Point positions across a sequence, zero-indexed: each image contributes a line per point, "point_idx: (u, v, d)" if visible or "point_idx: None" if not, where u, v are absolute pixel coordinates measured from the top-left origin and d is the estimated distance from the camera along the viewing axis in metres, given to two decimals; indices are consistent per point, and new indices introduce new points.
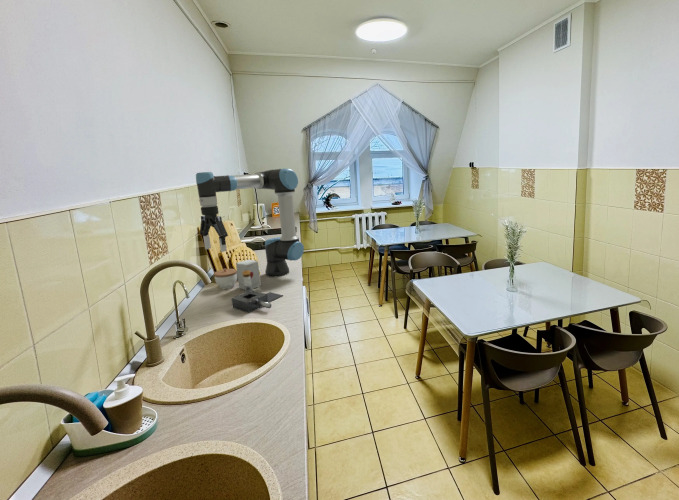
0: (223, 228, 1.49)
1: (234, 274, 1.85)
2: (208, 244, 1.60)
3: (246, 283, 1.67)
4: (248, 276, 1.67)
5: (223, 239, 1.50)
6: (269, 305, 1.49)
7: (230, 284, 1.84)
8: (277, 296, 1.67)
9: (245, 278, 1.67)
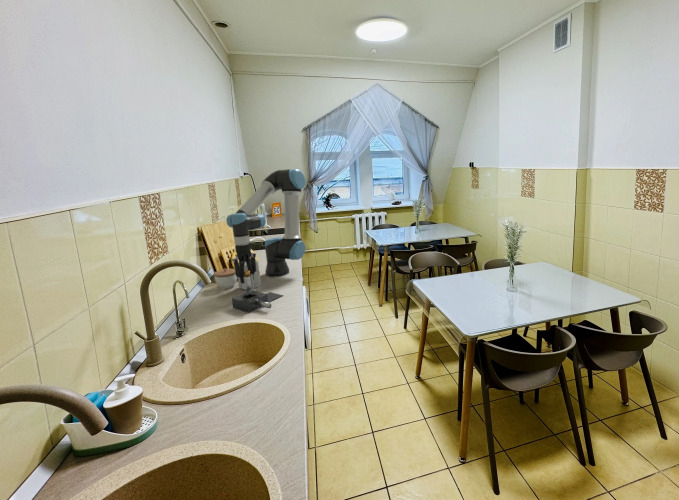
0: (236, 270, 1.63)
1: (234, 274, 1.85)
2: None
3: (246, 283, 1.67)
4: (248, 276, 1.67)
5: (240, 278, 1.66)
6: (269, 305, 1.49)
7: (230, 284, 1.84)
8: (277, 296, 1.67)
9: None
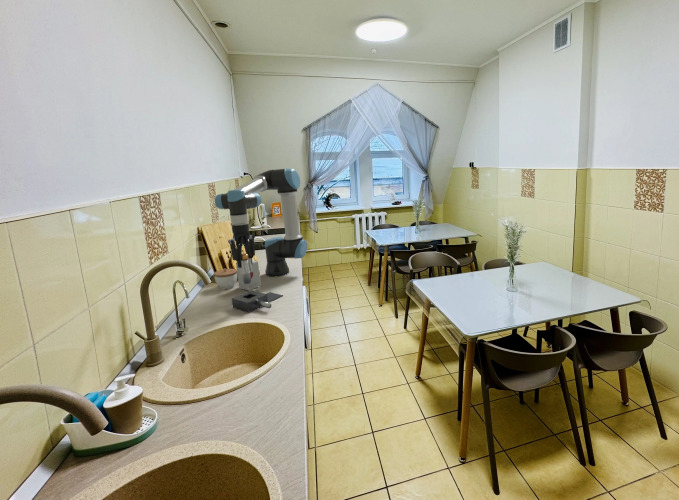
0: (233, 252, 1.47)
1: (234, 274, 1.85)
2: None
3: (244, 267, 1.52)
4: (246, 260, 1.52)
5: (237, 262, 1.50)
6: (269, 305, 1.49)
7: (230, 284, 1.84)
8: (277, 296, 1.67)
9: (243, 262, 1.51)
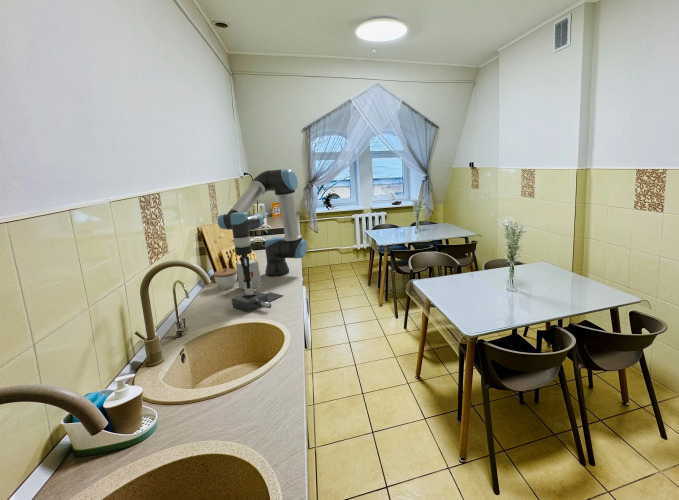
0: (248, 274, 1.49)
1: (234, 274, 1.85)
2: None
3: None
4: None
5: (247, 283, 1.52)
6: (269, 305, 1.49)
7: (230, 284, 1.84)
8: (277, 296, 1.67)
9: None
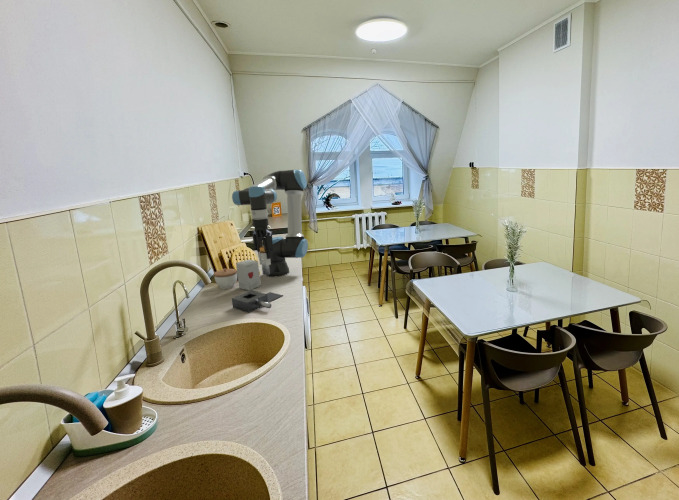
0: (271, 243, 1.58)
1: (234, 274, 1.85)
2: None
3: None
4: None
5: (268, 253, 1.60)
6: (269, 305, 1.49)
7: (230, 284, 1.84)
8: (277, 296, 1.67)
9: None
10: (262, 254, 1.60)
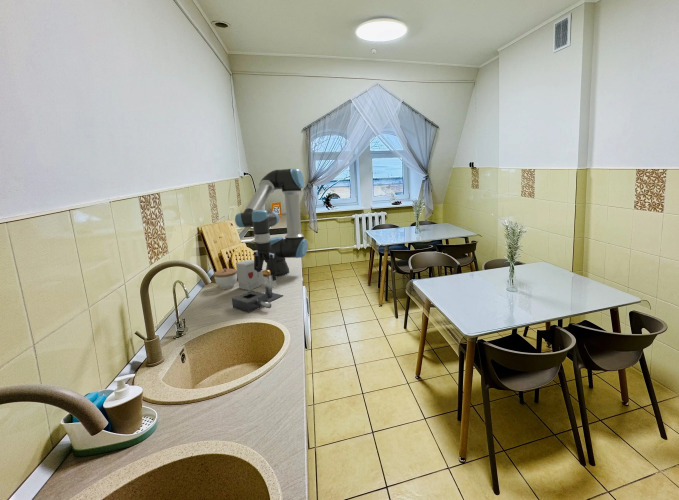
0: (275, 265, 1.60)
1: (234, 274, 1.85)
2: (262, 279, 1.68)
3: None
4: None
5: (274, 275, 1.61)
6: (269, 305, 1.49)
7: (230, 284, 1.84)
8: (277, 296, 1.67)
9: None
10: (265, 278, 1.64)
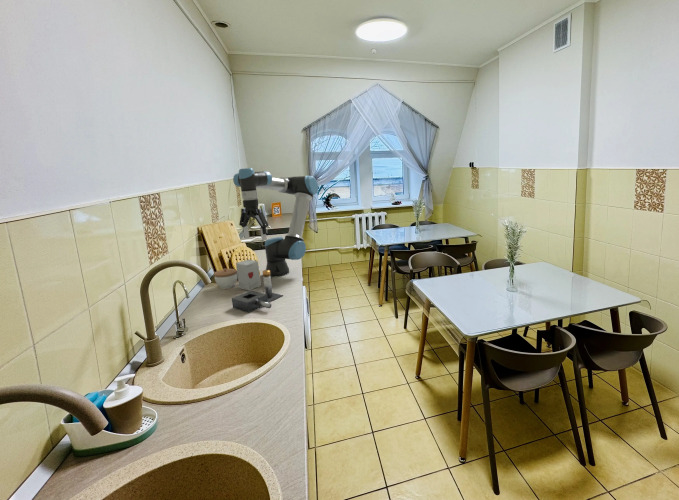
0: (264, 219, 1.64)
1: (234, 274, 1.85)
2: (247, 234, 1.75)
3: (270, 282, 1.66)
4: None
5: (264, 229, 1.65)
6: (269, 305, 1.49)
7: (230, 284, 1.84)
8: (277, 296, 1.67)
9: (270, 277, 1.65)
10: (265, 278, 1.63)
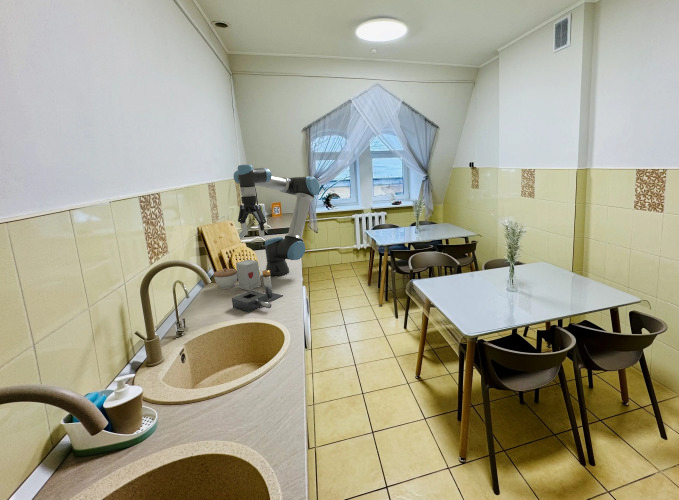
0: (262, 215, 1.65)
1: (234, 274, 1.85)
2: (245, 231, 1.75)
3: (270, 282, 1.66)
4: None
5: (262, 225, 1.66)
6: (269, 305, 1.49)
7: (230, 284, 1.84)
8: (277, 296, 1.67)
9: (270, 277, 1.65)
10: (265, 278, 1.63)
